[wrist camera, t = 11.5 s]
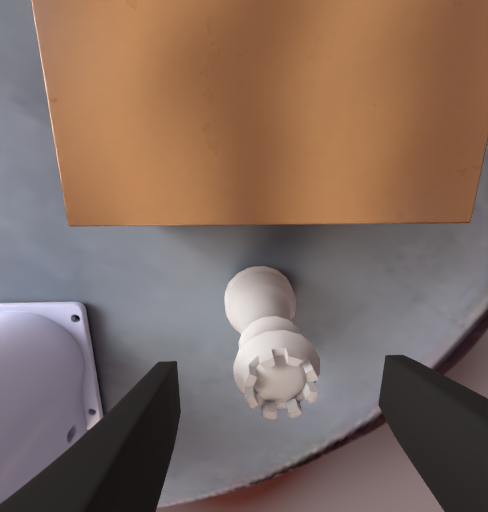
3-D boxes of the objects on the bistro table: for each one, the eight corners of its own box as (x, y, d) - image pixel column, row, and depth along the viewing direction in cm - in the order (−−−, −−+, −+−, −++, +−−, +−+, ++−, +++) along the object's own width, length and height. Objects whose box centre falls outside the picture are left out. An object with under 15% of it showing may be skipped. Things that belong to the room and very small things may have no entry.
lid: (543, -235, 7) (574, -278, 6) (456, 221, 9) (471, 223, 9) (0, -273, 6) (-24, -323, 5) (78, 224, 9) (67, 226, 8)
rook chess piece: (284, 255, 15) (335, 312, 8) (298, 317, 16) (357, 425, 9) (215, 273, 15) (197, 349, 8) (234, 334, 16) (235, 455, 9)
